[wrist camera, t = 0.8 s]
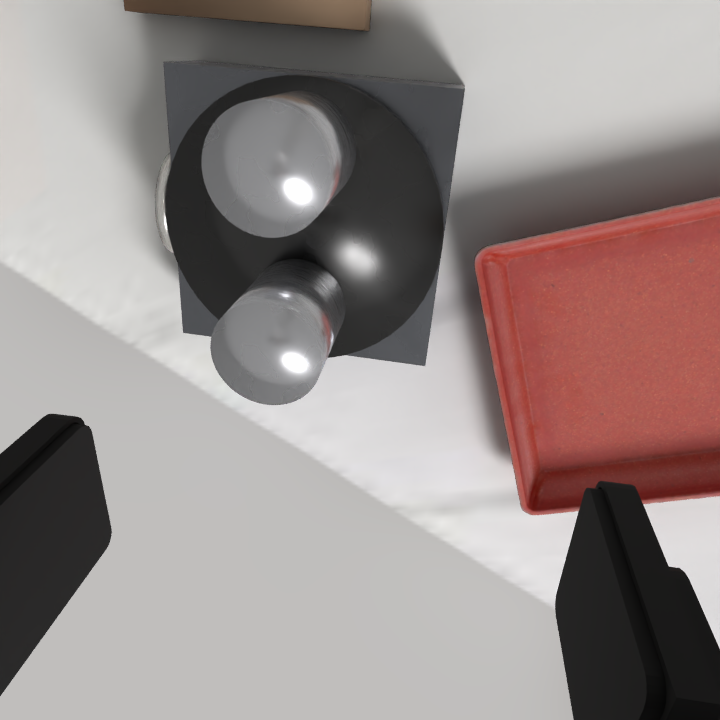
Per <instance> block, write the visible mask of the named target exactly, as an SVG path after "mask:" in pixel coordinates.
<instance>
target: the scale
mask: <svg viewBox="0 0 720 720" xmlns="http://www.w3.org/2000/svg"><path fill="white" fill-rule="evenodd" d="M164 75H165V89H166V102H167V116H168V130H169V144H170V153H169V154H168V155H167V156H166V158H165V160H164V162H163V164H162V166H161V169H160V172H159V176H158V180H157V186H156V195H155V212H156V222H157V227H158V231H159V235H160V237H161V240H162V242H163V244H164V246H165V247H166V248H167V249H168V250H169V251H170V252H172V253H174V255H175V257H176V260H177V262H178V268H179V282H180V296H181V310H182V324H183V333H189V334H196V335H204V336H211V337H212V333H213V330H214V328H215V326H216V324H217V323H218V321H219V320H220V318H221V317H222V316H223V315H224V314H225V313H226V312H227V311H228V310H229V309H230V307H231V306H232V305H233V304H234V303H235V302H236V301H237V300H238V299H239V298H240V296H241V295H242V294H243V293H244V292H245V291H246V290H247V289H248V288H249V287H250V286H251V284H252V283H253V282H254V281H255V280H256V279H257V278H258V277H259V276H260V275H261V273H262V272H263V271H264V270H265V269H266V268H268V267H269V266H271V265H272V264H274V263H276V262H279V261H282V260H287V259H302V260H307V261H310V262H313V263H315V264H317V265H319V266H321V267H322V268H324V269H325V270H326V271H328V272H329V273H330V274H331V275H332V276H333V277H334V278H335V280H336V281H337V282H338V284H339V286H340V288H341V290H342V292H343V295H344V299H345V317H344V321H343V323H342V326H341V328H340V330H339V332H338V335H337V337H336V339H335V342H334V344H333V346H332V348H331V351H330V353H329V355H328V357H327V358H330V357H336V356H342V355H349V356H356V357H364V358H371V359H378V360H385V361H393V362H400V363H407V364H414V365H422V366H425V363H426V356H427V349H428V342H429V335H430V328H431V321H432V314H433V307H434V300H435V293H436V286H437V279H438V272H439V265H440V258H441V252H442V245H443V238H444V231H445V224H446V217H447V210H448V203H449V196H450V189H451V182H452V175H453V168H454V161H455V154H456V147H457V140H458V133H459V126H460V119H461V112H462V105H463V98H464V91H465V85H461V84H450V83H439V82H428V81H417V80H406V79H394V78H383V77H372V76H361V75H350V74H339V73H327V72H316V71H305V70H294V69H283V68H271V67H260V66H249V65H238V64H227V63H216V62H204V61H175V62H164ZM290 91H309V92H314V93H317V94H320V95H322V96H324V97H326V98H327V99H329V100H330V101H332V102H333V103H334V104H335V105H337V106H338V107H339V108H340V110H341V111H342V112H343V113H344V115H345V116H346V118H347V119H348V121H349V123H350V125H351V127H352V130H353V133H354V137H355V142H356V160H355V165H354V169H353V171H352V174H351V176H350V178H349V180H348V182H347V183H346V184H345V186H344V187H343V188H342V189H341V190H340V192H339V193H338V194H337V195H336V196H335V197H334V198H333V199H332V200H331V202H330V203H329V204H328V205H327V206H326V207H325V208H324V209H323V211H322V212H321V213H320V214H319V215H318V216H317V217H316V218H315V219H314V220H313V221H312V222H311V223H310V224H309V225H308V226H307V227H305V228H304V229H302V230H301V231H299V232H297V233H294V234H292V235H289V236H285V237H278V238H267V237H260V236H256V235H253V234H250V233H248V232H245V231H243V230H241V229H240V228H238V227H236V226H235V225H233V224H232V223H231V222H230V221H228V220H227V219H226V218H225V217H224V216H223V215H222V214H221V212H220V211H219V210H218V209H217V208H216V206H215V204H214V203H213V201H212V200H211V198H210V196H209V194H208V192H207V189H206V186H205V183H204V179H203V174H202V150H203V145H204V142H205V138H206V136H207V134H208V131H209V130H210V128H211V126H212V125H213V123H214V122H215V121H216V120H217V118H218V117H219V116H220V115H221V114H223V113H224V112H225V111H226V110H228V109H229V108H231V107H233V106H235V105H237V104H239V103H242V102H246V101H250V100H254V99H259V98H263V97H268V96H272V95H277V94H281V93H286V92H290Z"/></svg>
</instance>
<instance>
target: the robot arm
mask: <svg viewBox="0 0 720 720" xmlns="http://www.w3.org/2000/svg"><path fill="white" fill-rule="evenodd" d="M111 533H112V531H111V525H110V520H109V515H108V510H107V505H106V500H105V495H104V490H103V485H102V480H101V475H100V470H99V465H98V460H97V455H96V450H95V445H94V440H93V435H92V431H91V429H90V427H89V426H86V425H85V424H84V421H83V420H82V419H81V418H79V417H75V416H67V415H58V414H48V415H46V416H45V417H43V418H42V419H41V420H39V421H38V422H37V423H36V424H35V425H34V426H32V427H31V428H30V429H29V430H28V431H27V432H25V433H24V434H23V435H22V436H21V437H20V438H19V439H17V440H16V441H15V442H14V443H13V444H12V445H10V446H9V447H8V448H7V449H6V450H5V451H3V452H2V453H1V454H0V696H1V694H2V693H3V692H4V690H5V689H6V687H7V686H8V685H9V683H10V682H11V680H12V679H13V678H14V676H15V675H16V673H17V672H18V671H19V669H20V668H21V667H22V665H23V664H24V662H25V661H26V660H27V658H28V657H29V656H30V654H31V653H32V651H33V650H34V649H35V647H36V646H37V644H38V643H39V642H40V640H41V639H42V638H43V636H44V635H45V633H46V632H47V630H48V629H49V628H50V626H51V625H52V624H53V622H54V621H55V619H56V618H57V616H58V615H59V614H60V613H61V611H62V610H63V608H64V607H65V606H66V604H67V603H68V601H69V600H70V599H71V597H72V596H73V595H74V593H75V592H76V590H77V589H78V588H79V586H80V585H81V583H82V582H83V581H84V579H85V578H86V577H87V575H88V574H89V572H90V571H91V570H92V568H93V567H94V565H95V564H96V563H97V561H98V560H99V558H100V557H101V556H102V554H103V553H104V551H105V550H106V549H107V547H108V545H109V542H110V539H111ZM555 610H556V619H557V625H558V631H559V636H560V642H561V648H562V654H563V659H564V665H565V671H566V677H567V683H568V689H569V694H570V699H571V706H572V712H573V718H574V720H720V649H719V646H718V644H717V642H716V640H715V637H714V635H713V633H712V631H711V628H710V626H709V624H708V621H707V619H706V617H705V615H704V612H703V610H702V608H701V605H700V603H699V601H698V599H697V596H696V594H695V592H694V590H693V587H692V585H691V583H690V580H689V579H688V577H687V575H686V574H685V572H684V571H682V570H681V569H680V568H674V567H668V564H667V562H666V559H665V557H664V554H663V552H662V550H661V547H660V545H659V542H658V540H657V537H656V535H655V532H654V530H653V528H652V525H651V523H650V520H649V518H648V515H647V513H646V510H645V508H644V506H643V503H642V501H641V498H640V496H639V493H638V491H637V489H636V487H635V486H634V485H631V484H623V483H615V482H607V481H599V482H598V483H597V485H596V487H595V488H586V489H585V491H584V494H583V498H582V502H581V505H580V509H579V513H578V516H577V520H576V524H575V527H574V531H573V535H572V539H571V542H570V546H569V550H568V553H567V557H566V561H565V564H564V568H563V572H562V576H561V579H560V583H559V587H558V590H557V595H556V603H555Z"/></svg>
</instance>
